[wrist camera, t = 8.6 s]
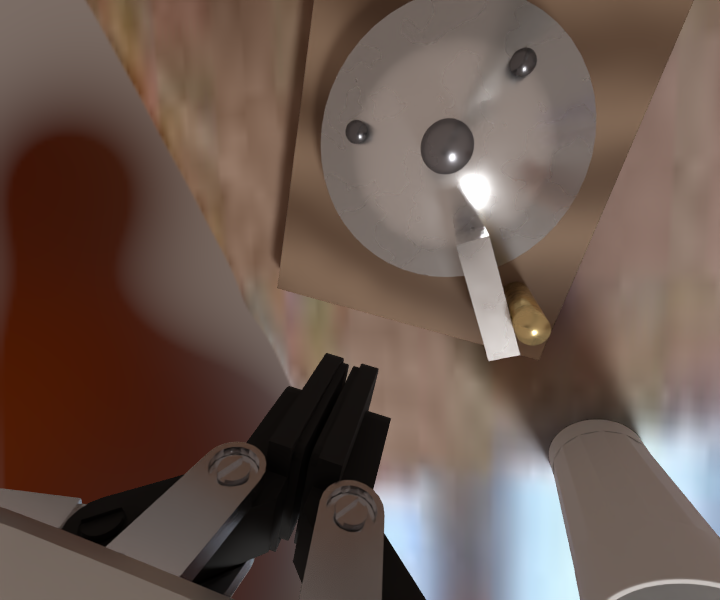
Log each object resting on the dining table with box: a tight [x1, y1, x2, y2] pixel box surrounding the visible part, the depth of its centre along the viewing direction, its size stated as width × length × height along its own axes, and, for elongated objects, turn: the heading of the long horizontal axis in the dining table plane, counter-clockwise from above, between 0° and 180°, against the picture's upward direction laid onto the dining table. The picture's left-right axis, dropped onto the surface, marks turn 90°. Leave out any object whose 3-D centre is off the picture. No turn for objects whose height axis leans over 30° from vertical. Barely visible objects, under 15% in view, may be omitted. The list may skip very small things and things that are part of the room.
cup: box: [549, 419, 720, 600], centre depth 23 cm, size 8×8×12 cm
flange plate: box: [321, 0, 596, 361], centre depth 20 cm, size 18×14×4 cm
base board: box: [277, 0, 694, 360], centre depth 23 cm, size 22×18×2 cm
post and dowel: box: [421, 118, 551, 345], centre depth 20 cm, size 12×2×6 cm, turn 31°
